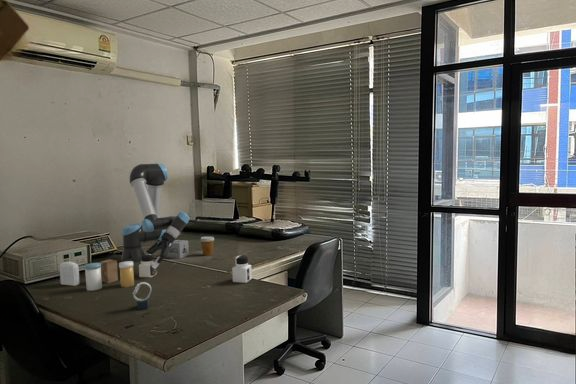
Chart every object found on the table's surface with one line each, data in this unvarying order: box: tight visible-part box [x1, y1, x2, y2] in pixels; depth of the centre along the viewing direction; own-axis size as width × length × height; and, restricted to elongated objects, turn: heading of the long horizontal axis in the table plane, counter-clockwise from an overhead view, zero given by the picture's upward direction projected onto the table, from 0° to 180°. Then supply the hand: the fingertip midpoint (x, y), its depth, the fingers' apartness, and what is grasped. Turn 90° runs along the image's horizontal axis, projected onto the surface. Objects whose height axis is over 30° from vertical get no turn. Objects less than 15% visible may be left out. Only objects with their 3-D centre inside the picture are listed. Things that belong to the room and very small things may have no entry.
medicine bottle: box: [138, 253, 158, 278], centre depth 237 cm, size 7×7×12 cm
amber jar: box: [118, 261, 135, 288], centre depth 219 cm, size 7×7×12 cm
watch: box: [131, 281, 152, 311], centre depth 184 cm, size 6×8×11 cm
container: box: [231, 255, 253, 284], centre depth 221 cm, size 8×8×13 cm
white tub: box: [83, 262, 103, 292], centre depth 215 cm, size 8×8×13 cm
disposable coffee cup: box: [200, 235, 215, 257], centre depth 286 cm, size 10×10×12 cm
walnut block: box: [99, 259, 119, 284], centre depth 228 cm, size 6×6×11 cm
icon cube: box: [167, 239, 190, 259], centre depth 285 cm, size 10×10×10 cm
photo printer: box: [59, 261, 80, 287], centre depth 224 cm, size 10×4×12 cm, turn 72°
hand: (147, 265), depth 236 cm, fingers open, 13 cm apart
